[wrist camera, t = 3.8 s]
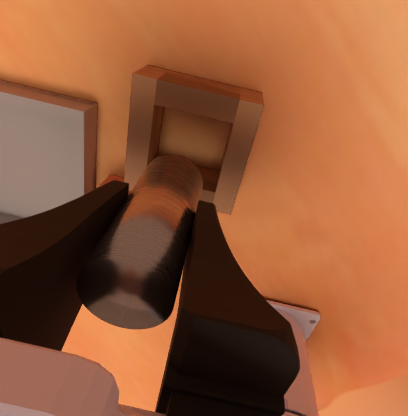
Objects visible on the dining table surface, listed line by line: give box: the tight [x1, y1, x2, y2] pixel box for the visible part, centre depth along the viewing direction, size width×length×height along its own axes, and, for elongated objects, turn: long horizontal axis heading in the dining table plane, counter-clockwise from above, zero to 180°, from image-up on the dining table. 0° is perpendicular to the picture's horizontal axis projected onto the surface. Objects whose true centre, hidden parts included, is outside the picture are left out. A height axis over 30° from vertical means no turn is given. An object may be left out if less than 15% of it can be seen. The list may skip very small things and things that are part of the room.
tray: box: [0, 80, 97, 224], centre depth 22 cm, size 11×11×2 cm
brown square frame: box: [124, 65, 264, 214], centre depth 20 cm, size 7×7×3 cm
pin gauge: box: [76, 154, 203, 329], centre depth 12 cm, size 3×3×7 cm
